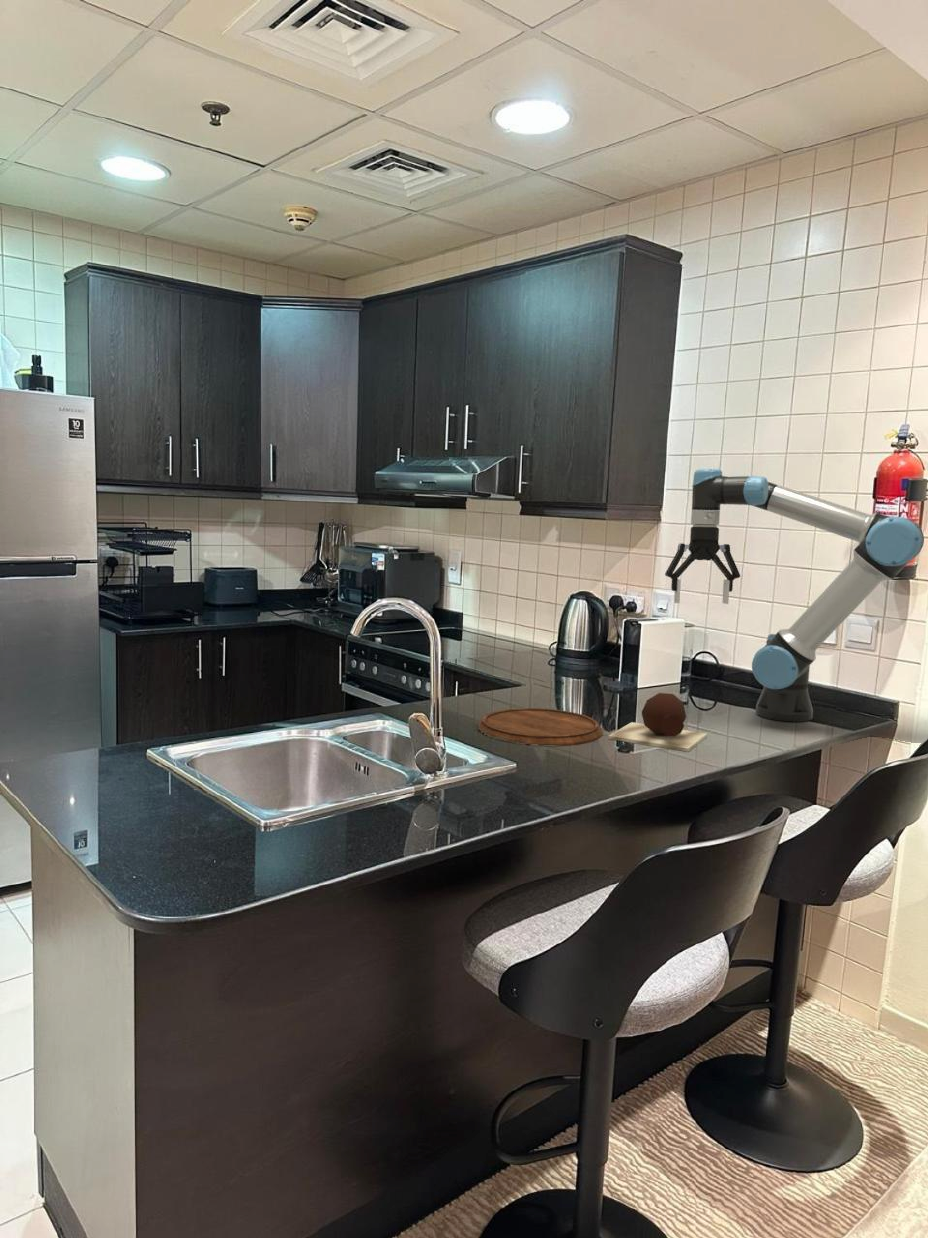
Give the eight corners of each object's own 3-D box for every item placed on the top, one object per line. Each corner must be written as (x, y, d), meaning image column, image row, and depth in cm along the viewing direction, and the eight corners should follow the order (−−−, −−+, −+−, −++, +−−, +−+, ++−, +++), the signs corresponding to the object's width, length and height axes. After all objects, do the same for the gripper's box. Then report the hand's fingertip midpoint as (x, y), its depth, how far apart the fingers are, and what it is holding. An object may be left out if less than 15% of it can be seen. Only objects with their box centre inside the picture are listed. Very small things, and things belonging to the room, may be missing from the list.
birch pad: (707, 736, 220) (707, 733, 220) (688, 751, 205) (688, 748, 205) (631, 725, 230) (631, 722, 230) (608, 738, 215) (608, 735, 215)
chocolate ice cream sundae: (645, 709, 207) (634, 691, 222) (655, 752, 209) (643, 732, 224) (689, 698, 207) (674, 681, 221) (698, 742, 209) (683, 722, 223)
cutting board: (552, 755, 200) (552, 745, 200) (451, 729, 222) (451, 720, 221) (627, 732, 224) (627, 722, 224) (529, 710, 245) (529, 701, 245)
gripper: (663, 525, 234) (659, 603, 237) (754, 527, 235) (750, 605, 237) (656, 525, 242) (653, 601, 244) (745, 526, 242) (740, 602, 245)
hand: (701, 603), depth 241 cm, fingers open, 13 cm apart
